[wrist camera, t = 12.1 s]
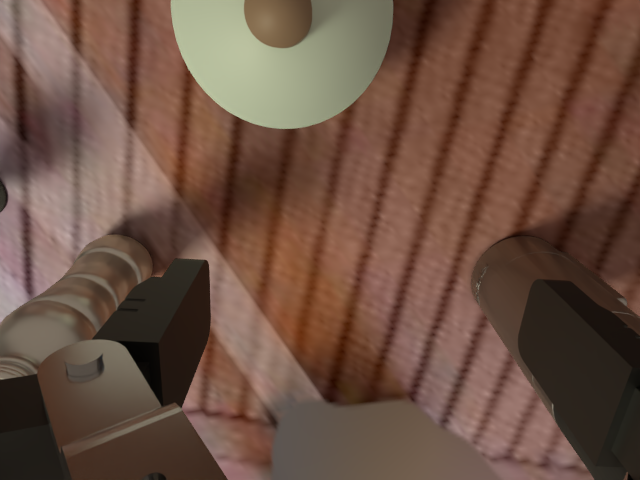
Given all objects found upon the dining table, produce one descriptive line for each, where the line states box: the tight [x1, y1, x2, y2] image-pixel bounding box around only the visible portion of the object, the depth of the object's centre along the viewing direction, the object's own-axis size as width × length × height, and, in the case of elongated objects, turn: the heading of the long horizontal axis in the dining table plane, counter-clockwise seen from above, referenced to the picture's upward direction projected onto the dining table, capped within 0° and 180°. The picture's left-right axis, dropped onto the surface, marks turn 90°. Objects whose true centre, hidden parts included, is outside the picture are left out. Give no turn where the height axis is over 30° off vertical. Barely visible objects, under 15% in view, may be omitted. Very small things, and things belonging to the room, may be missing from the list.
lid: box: [171, 0, 393, 129], centre depth 29 cm, size 15×15×6 cm
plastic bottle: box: [0, 234, 153, 380], centre depth 36 cm, size 6×7×20 cm
